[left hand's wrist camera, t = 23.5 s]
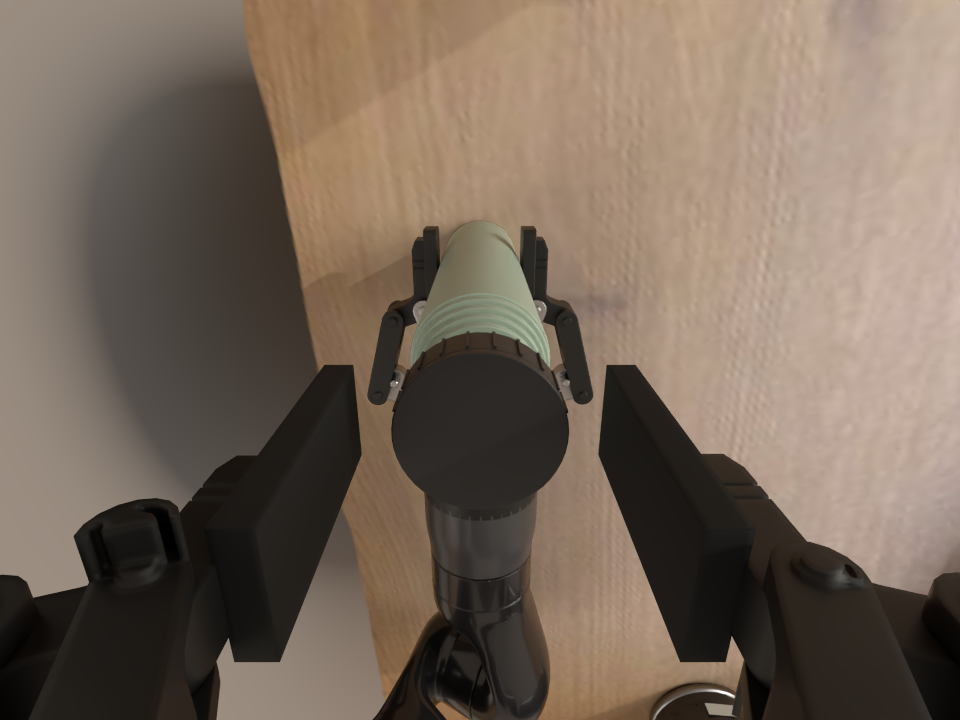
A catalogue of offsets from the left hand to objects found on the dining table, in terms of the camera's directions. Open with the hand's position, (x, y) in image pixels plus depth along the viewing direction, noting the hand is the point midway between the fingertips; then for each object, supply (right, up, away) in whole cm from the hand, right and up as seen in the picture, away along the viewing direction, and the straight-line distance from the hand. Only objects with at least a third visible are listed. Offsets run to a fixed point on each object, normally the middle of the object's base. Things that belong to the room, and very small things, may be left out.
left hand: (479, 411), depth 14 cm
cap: (0, 0, -1) cm, 1 cm away
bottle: (0, +9, +22) cm, 24 cm away
